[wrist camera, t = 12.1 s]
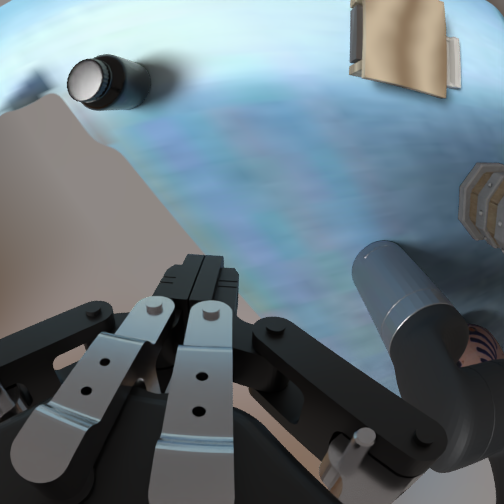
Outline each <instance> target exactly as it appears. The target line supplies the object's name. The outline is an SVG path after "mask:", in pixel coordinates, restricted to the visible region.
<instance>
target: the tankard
mask: <svg viewBox="0 0 504 504" xmlns="http://www.w3.org/2000/svg"><path fill="white" fill-rule="evenodd" d="M458 219H459V220H460V222H461V223H462V224H463V226H464V227H465V228H466V230H467V231H468V232H469V234H470V235H471V236H472V238H473V239H475V240H476V241H478V240H484V239H485V240H486V241H487V243H488V244H489V245H491V246H492V247H494V248H501V250H502V252H503V253H504V165H503V164H500V163H476V165H475V166H474V168H473V169H472V170H471V172H470V173H469V175H468V176H467V177H466V179H465V180H464V181H463V183H462V184H461V185H460V194H459V213H458Z"/></svg>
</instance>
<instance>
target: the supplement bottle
mask: <svg viewBox="0 0 504 504" xmlns="http://www.w3.org/2000/svg"><path fill="white" fill-rule="evenodd" d="M150 86H151V79H150V75H149V73H148V71H147V70H146V69H145V68H144V67H143V66H142V65H140V64H138V63H135V62H133V61H130V60H127V59H124V58H121V57H118V56H115V55H110V54H104V55H99V56H97V57H94V58H93V59H86V60H82V61H80V62H79V63H78V64H76V65H75V66H74V67H73V69H72V70H71V72H70V74H69V77H68V81H67V88H68V92H69V95H70V96H71V97H72V98H73V99H74V100H76V101H79V102H81V103H82V104H83V105H84V106H85V107H87V108H89V109H91V110H97V111H102V110H128V109H132V108H134V107H136V106H138V105H139V104H141V103H142V102H143V101H144V100H145V98H146V97H147V95H148V93H149V90H150Z"/></svg>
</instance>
